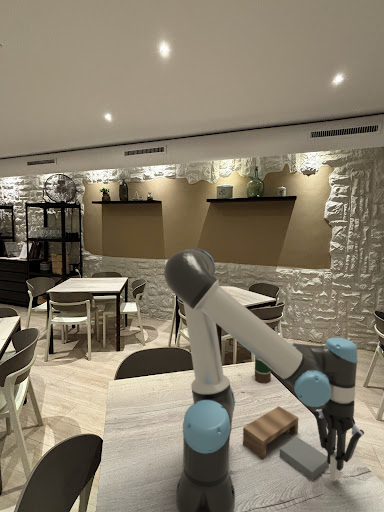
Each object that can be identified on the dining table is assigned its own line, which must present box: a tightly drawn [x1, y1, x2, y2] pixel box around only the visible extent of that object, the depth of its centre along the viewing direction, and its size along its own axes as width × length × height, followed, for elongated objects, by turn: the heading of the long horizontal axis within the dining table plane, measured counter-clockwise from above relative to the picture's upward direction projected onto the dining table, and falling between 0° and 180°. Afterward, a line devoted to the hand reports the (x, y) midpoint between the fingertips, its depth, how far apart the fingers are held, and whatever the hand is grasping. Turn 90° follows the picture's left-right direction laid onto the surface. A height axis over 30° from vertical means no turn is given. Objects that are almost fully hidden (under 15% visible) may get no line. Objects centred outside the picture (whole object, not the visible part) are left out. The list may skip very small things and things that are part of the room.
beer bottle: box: [254, 355, 272, 384], centre depth 136 cm, size 8×8×24 cm
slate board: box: [279, 436, 330, 481], centre depth 88 cm, size 9×11×3 cm
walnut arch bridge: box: [242, 406, 299, 460], centre depth 97 cm, size 19×8×6 cm, turn 128°
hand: (334, 477), depth 81 cm, fingers closed
